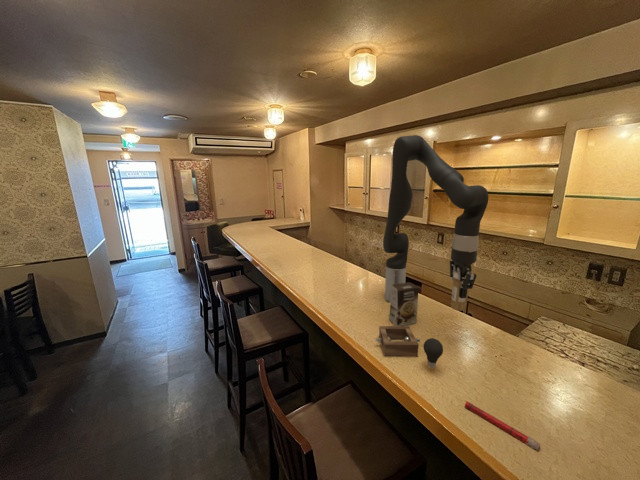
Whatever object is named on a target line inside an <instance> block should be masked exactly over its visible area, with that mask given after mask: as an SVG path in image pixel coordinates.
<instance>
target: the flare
mask: <svg viewBox="0 0 640 480" xmlns="http://www.w3.org/2000/svg"><path fill="white" fill-rule="evenodd" d="M464 408H465V409H467V410H469V411H471V412H473V413H474V414H475V415H477V416H478V417H481V418H483V419H484V420H486V421H487V422H489V423H491V424H492V425H494V426H496V427H497V428H499V429H501V430H502V431H504V432H505V433H507V434H508V435H511V436H512V437H513V438H516V439H518V440H519V441H521V442H522V443H524V444H526V445H527V446H529V447H530V448H532V449H533V450H535V451H537V452H539V450H540V447H541V442H539V441H536V440H535V439H533V438H531V437H530V436H528V435H526V434H524V433H522V432H521V431H520V430H517V429H516V428H514V427H512V426H511V425H508V424H507V423H505V422H503V421H502V420H500V419H498V418H496V417H495V416H493V415H491V414H490V413H488V412H486V411H485V410H482V409H481V408H480V407H477V406H476V405H474V404H472V403H471V402H469V401H466V402H465V404H464Z"/></svg>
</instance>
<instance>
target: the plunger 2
mask: <svg viewBox="0 0 640 480" xmlns="http://www.w3.org/2000/svg"><path fill="white" fill-rule="evenodd" d="M415 339H416V341H417V343H420V342H421V339H420V338H419V337H418V338H416V337H415ZM409 340H410V339H409V337H408V336H406V337H405V338H404V340H403V341H409Z"/></svg>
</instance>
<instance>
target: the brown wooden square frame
mask: <svg viewBox="0 0 640 480" xmlns="http://www.w3.org/2000/svg"><path fill="white" fill-rule="evenodd" d="M378 330H379V332H378V338H383V342H380V345H381V348H382V351H383V352H382V353H383V355H384V357H414V358H416V357H418V355H419V342H417V341H416V339H415V338H416V337H415V335H414V332H413V331H412V328H411V327H410V325H406V326H395V325H379V328H378ZM406 336H408V337H409V339H410V340H409V341H404V338H405V337H406ZM388 337H390V338H391V341H389V339H388Z"/></svg>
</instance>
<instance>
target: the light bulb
mask: <svg viewBox="0 0 640 480" xmlns="http://www.w3.org/2000/svg"><path fill="white" fill-rule="evenodd" d="M423 350H424V351H423V352H424V353H425V355H426V360H427V367H429V368H430V369H435V368H436V367H437V362H438V360H439V358H440V357H441V356H442V355H443V353H444V346H443V344H442V343H441V341H440V340H439V339H437V338H434V337H431V338H427V339H426V340H424V342H423Z"/></svg>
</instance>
